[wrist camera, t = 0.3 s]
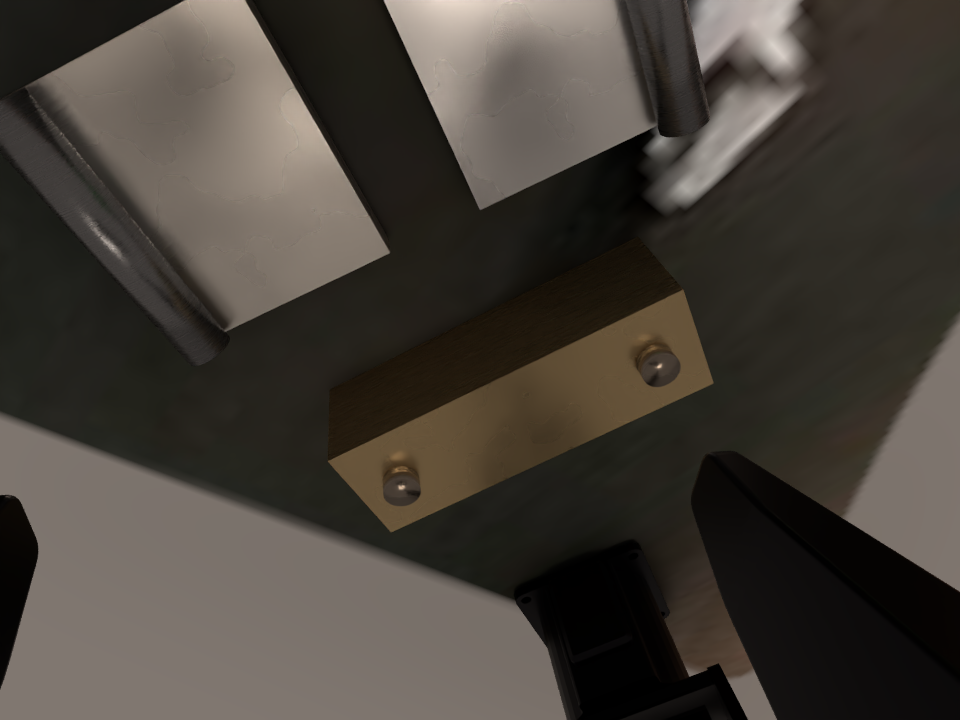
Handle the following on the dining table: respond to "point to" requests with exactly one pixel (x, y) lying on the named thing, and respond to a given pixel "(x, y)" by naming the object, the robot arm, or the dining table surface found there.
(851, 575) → the robot arm
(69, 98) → the chain end
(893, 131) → the dining table surface
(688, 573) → the dining table surface
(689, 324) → the bar
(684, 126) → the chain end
